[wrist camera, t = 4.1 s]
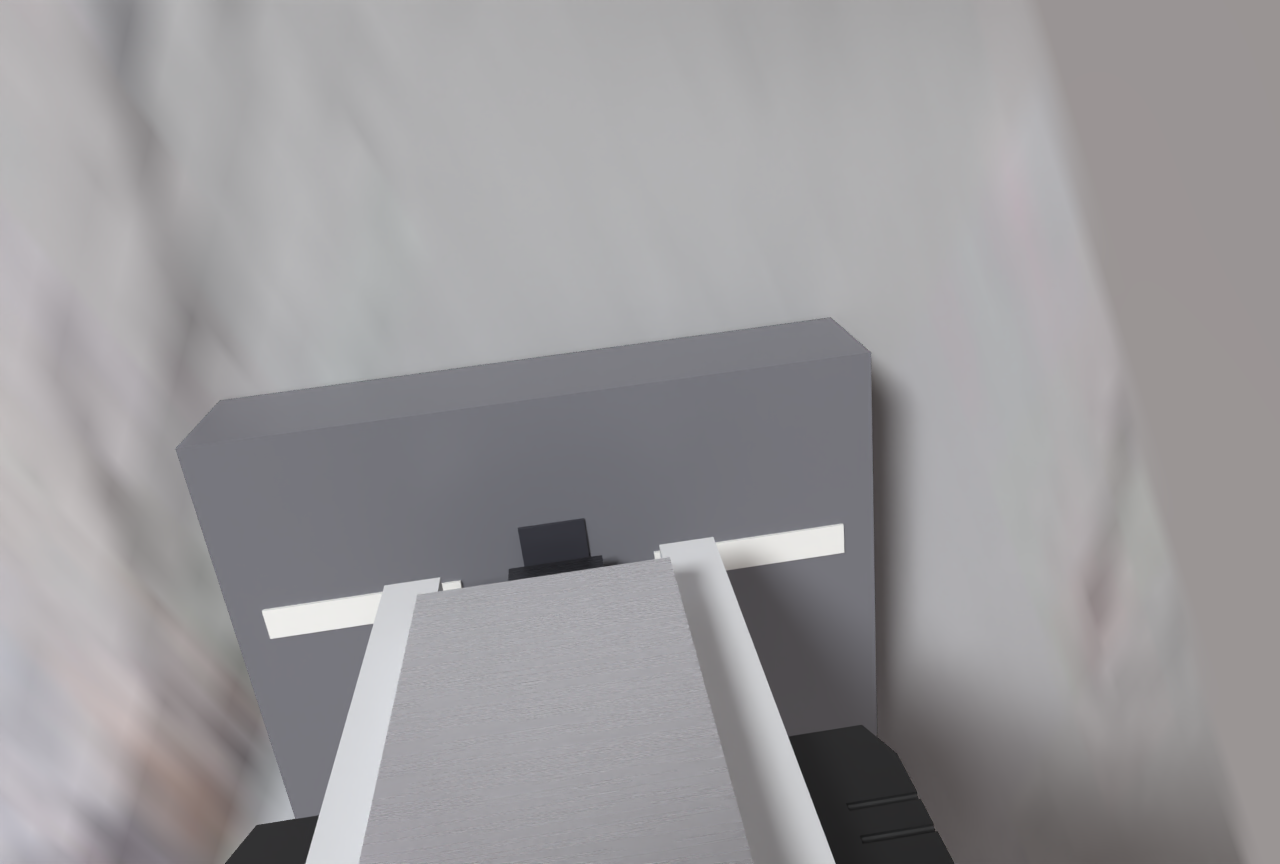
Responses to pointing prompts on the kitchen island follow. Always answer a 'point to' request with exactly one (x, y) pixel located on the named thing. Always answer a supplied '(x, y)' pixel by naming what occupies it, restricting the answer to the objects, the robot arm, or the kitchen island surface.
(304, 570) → the fader console
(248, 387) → the kitchen island surface
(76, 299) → the kitchen island surface
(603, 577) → the fader knob
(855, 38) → the kitchen island surface
